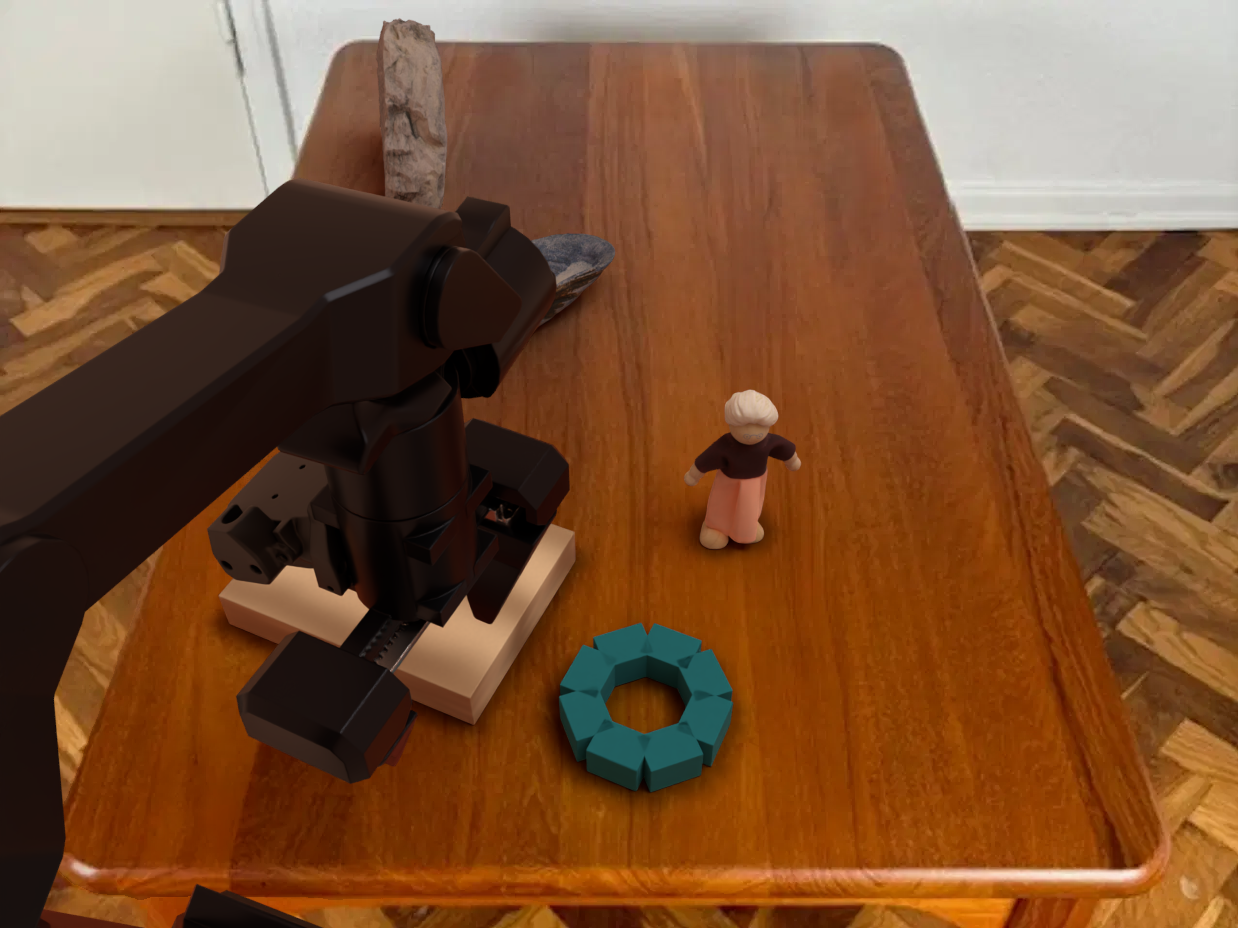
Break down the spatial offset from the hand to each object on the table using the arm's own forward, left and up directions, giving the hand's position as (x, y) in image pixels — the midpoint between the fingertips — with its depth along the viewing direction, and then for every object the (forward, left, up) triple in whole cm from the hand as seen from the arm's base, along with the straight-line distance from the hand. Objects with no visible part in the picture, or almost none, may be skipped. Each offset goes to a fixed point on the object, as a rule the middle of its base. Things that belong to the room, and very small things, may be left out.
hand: (438, 686), depth 60 cm
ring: (+10, -7, -12) cm, 17 cm away
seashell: (+41, +16, -12) cm, 45 cm away
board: (+12, +11, -12) cm, 20 cm away
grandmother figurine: (+26, -7, -12) cm, 29 cm away
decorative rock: (+54, +35, -12) cm, 65 cm away
